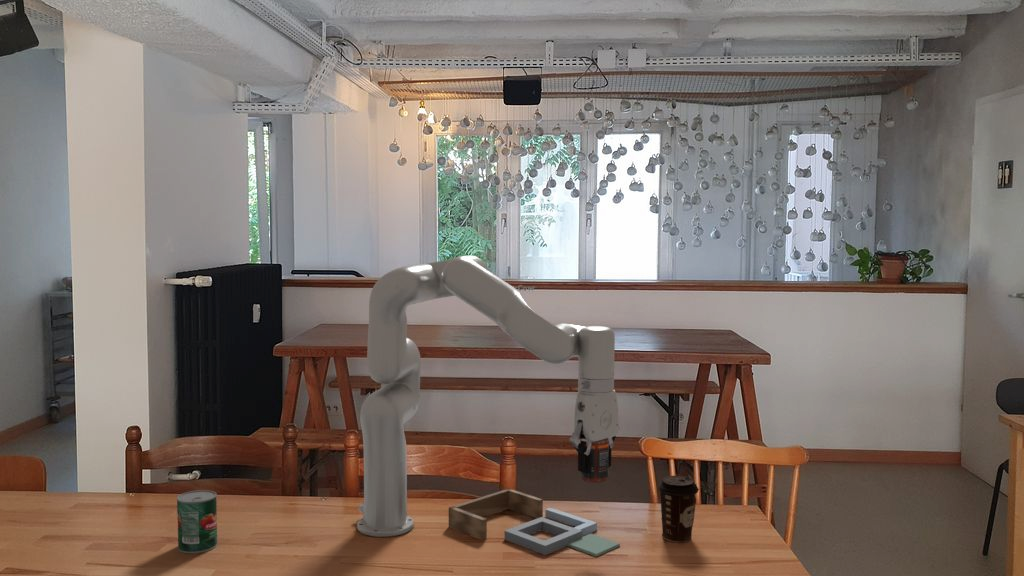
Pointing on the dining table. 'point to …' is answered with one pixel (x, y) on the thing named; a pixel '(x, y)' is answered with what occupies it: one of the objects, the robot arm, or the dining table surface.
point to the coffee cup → (677, 507)
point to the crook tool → (572, 520)
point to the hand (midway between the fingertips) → (594, 467)
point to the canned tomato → (197, 521)
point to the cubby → (491, 510)
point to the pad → (593, 544)
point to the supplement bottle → (598, 462)
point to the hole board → (524, 538)
